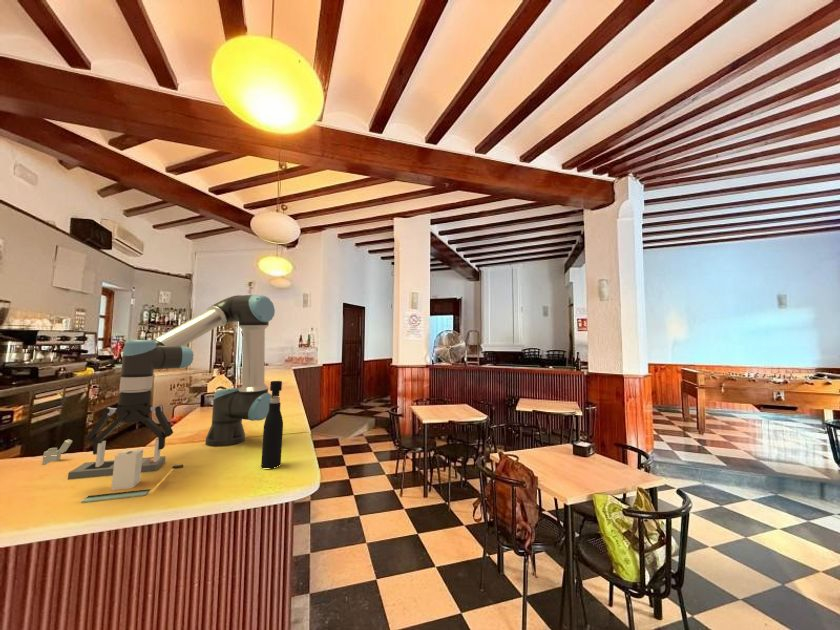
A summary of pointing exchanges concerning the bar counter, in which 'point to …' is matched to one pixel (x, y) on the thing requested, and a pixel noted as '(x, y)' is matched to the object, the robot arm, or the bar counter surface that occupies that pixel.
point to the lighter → (55, 453)
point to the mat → (115, 495)
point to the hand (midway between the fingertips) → (128, 463)
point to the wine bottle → (273, 430)
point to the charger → (127, 469)
